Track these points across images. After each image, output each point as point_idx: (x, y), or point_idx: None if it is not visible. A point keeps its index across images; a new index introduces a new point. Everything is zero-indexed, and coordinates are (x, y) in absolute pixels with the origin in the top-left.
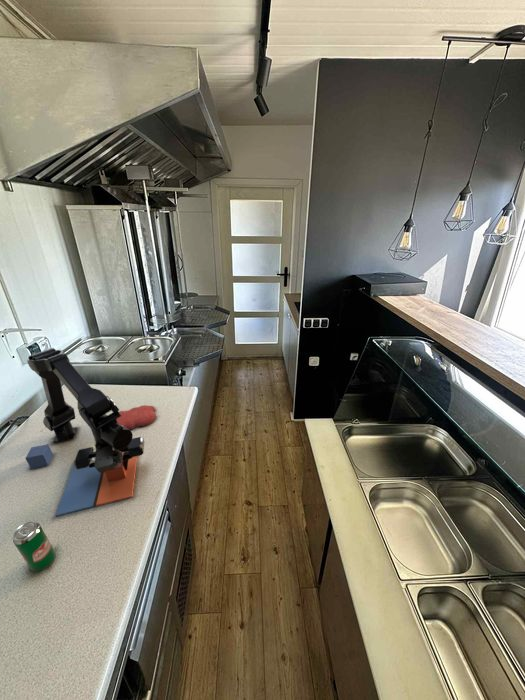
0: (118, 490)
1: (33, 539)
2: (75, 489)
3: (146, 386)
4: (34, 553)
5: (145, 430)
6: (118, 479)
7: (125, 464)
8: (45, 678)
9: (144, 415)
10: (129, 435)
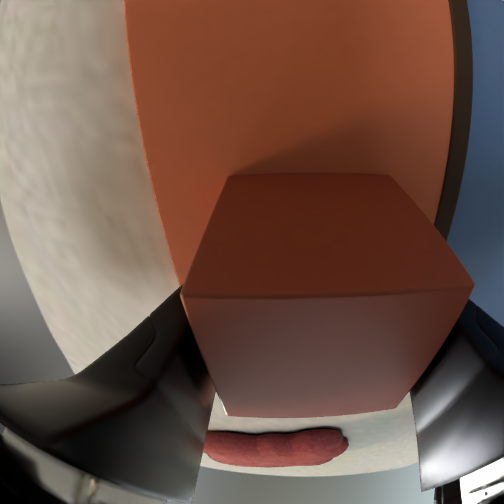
0: (271, 30)
1: None
2: None
3: (255, 473)
4: None
5: (214, 421)
6: (299, 173)
7: (177, 314)
8: None
9: (227, 457)
10: None
